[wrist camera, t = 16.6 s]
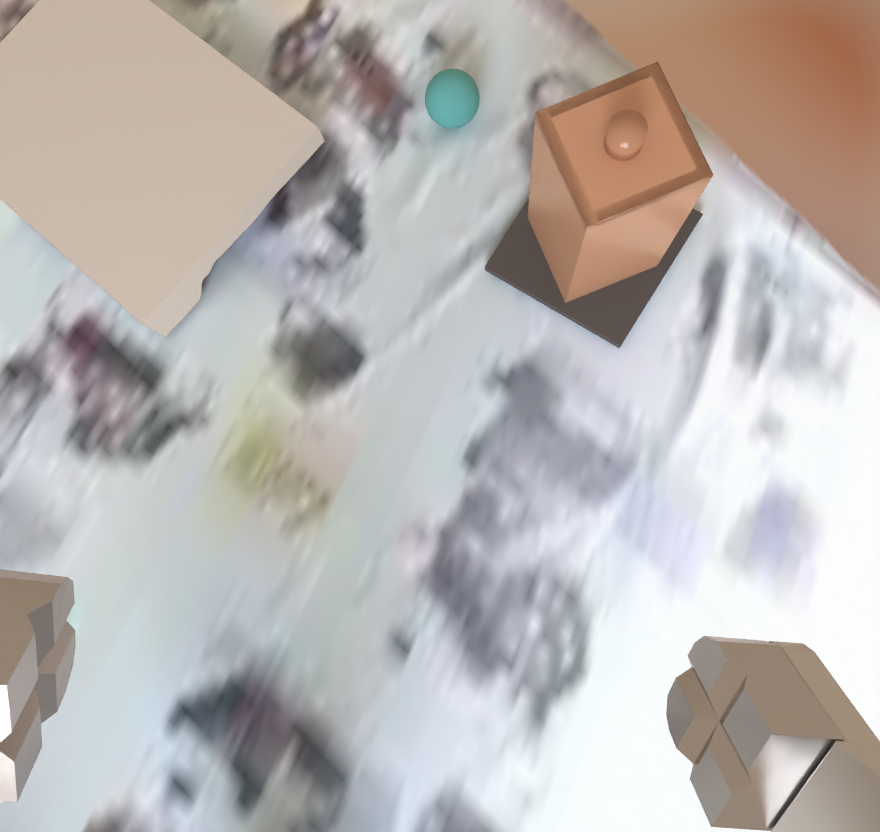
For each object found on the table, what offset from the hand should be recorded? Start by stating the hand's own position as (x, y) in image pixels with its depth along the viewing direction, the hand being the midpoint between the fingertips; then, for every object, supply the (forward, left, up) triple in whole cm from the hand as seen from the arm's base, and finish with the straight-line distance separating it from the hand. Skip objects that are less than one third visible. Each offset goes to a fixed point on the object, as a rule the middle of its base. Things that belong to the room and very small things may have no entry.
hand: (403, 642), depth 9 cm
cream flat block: (-31, +9, -32) cm, 45 cm away
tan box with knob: (-4, +18, -30) cm, 35 cm away
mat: (-4, +18, -31) cm, 36 cm away
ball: (-15, +21, -31) cm, 40 cm away
